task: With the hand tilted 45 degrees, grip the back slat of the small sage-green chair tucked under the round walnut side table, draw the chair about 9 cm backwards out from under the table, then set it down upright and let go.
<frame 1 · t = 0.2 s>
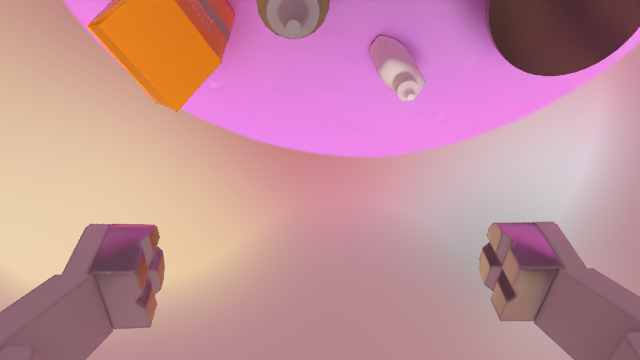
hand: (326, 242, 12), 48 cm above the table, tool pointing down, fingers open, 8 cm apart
eye dropper bottle: (390, 52, 59), on the table
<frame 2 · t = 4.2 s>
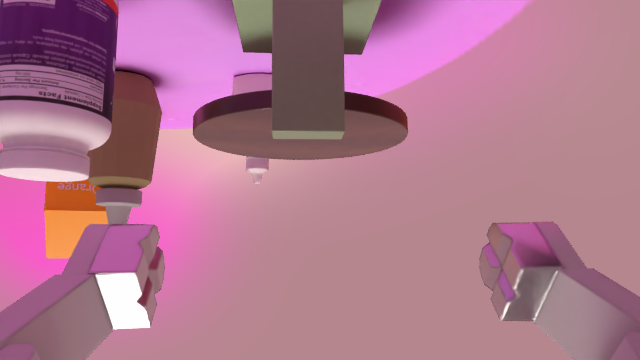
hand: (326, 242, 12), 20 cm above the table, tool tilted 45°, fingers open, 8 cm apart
orange juice: (94, 103, 64), on the table
little table: (300, 2, 39), on the table
eye dropper bottle: (258, 76, 55), on the table
squeeze bottle: (125, 77, 55), on the table
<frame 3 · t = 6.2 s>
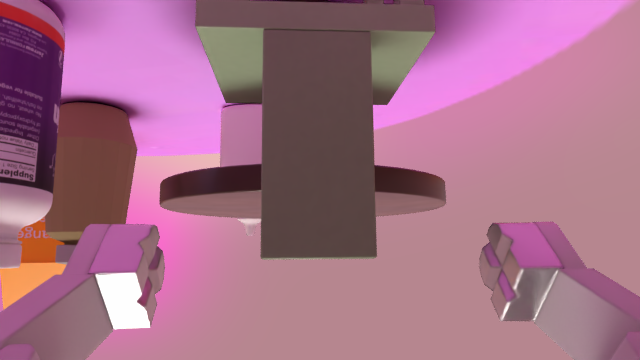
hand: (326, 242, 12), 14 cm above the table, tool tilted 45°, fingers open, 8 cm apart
orange juice: (63, 133, 55), on the table
little table: (303, 27, 30), on the table
eye dropper bottle: (251, 106, 46), on the table
squeeze bottle: (94, 107, 46), on the table
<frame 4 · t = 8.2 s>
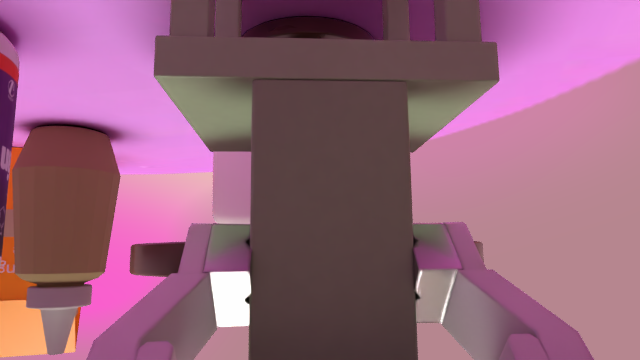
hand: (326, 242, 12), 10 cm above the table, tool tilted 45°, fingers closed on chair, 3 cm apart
orange juice: (42, 153, 51), on the table
little table: (307, 49, 25), on the table
eye dropper bottle: (248, 129, 41), on the table
squeeze bottle: (71, 130, 41), on the table
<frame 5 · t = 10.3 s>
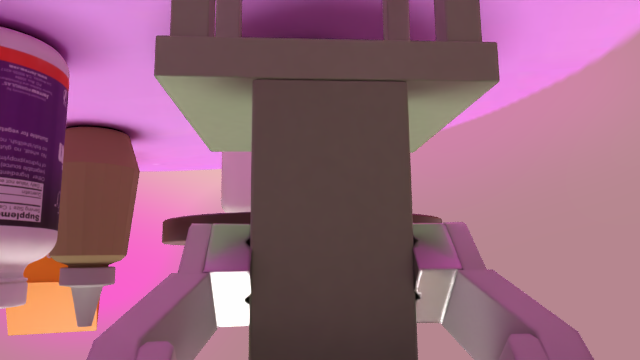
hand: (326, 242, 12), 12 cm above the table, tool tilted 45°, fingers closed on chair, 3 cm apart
orange juice: (66, 152, 56), on the table
little table: (303, 63, 30), on the table
eye dropper bottle: (252, 129, 47), on the table
squeeze bottle: (97, 130, 47), on the table
when the fingers open (10 cm above the table, at t = 12.5 s): chair stays where it is, on the table.
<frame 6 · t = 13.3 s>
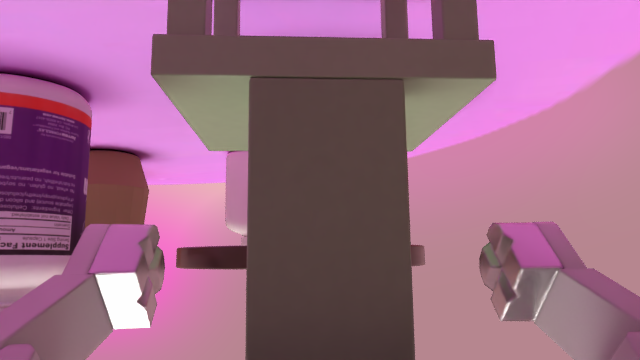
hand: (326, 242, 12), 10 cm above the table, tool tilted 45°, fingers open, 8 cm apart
little table: (301, 103, 34), on the table
pill bottle: (23, 87, 31), on the table
eye dropper bottle: (254, 151, 50), on the table
squeeze bottle: (109, 152, 50), on the table
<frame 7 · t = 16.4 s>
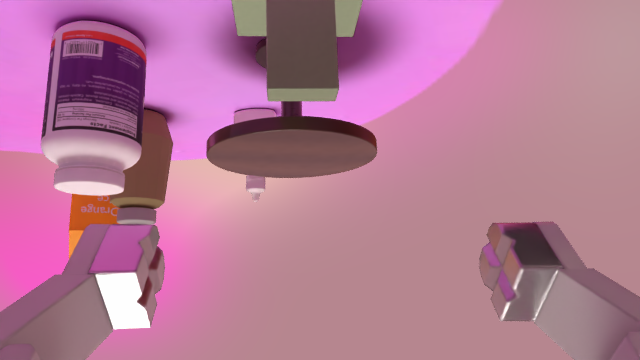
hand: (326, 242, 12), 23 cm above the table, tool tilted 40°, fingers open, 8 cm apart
orange juice: (111, 138, 73), on the table
little table: (290, 50, 49), on the table
pill bottle: (102, 37, 45), on the table
eye dropper bottle: (255, 111, 65), on the table
squeeze bottle: (142, 114, 64), on the table
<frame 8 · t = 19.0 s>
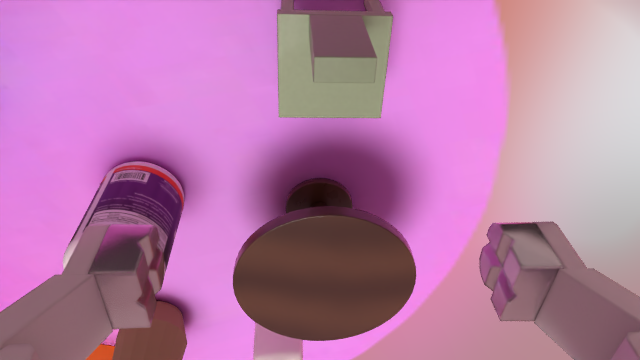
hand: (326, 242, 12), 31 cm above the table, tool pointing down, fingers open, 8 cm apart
chair: (327, 38, 41), on the table
little table: (318, 204, 51), on the table
pill bottle: (146, 188, 49), on the table
eye dropper bottle: (279, 307, 61), on the table
squeeze bottle: (159, 313, 61), on the table
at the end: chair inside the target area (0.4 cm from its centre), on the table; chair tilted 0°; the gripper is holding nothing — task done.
